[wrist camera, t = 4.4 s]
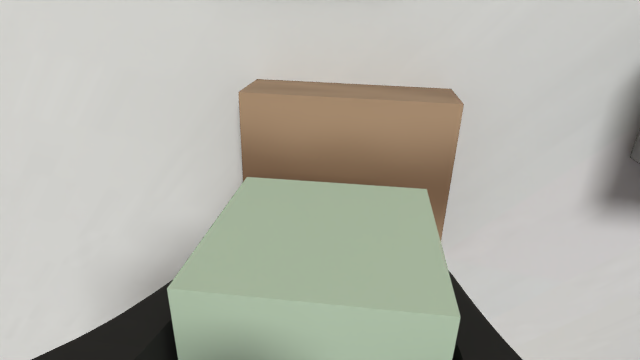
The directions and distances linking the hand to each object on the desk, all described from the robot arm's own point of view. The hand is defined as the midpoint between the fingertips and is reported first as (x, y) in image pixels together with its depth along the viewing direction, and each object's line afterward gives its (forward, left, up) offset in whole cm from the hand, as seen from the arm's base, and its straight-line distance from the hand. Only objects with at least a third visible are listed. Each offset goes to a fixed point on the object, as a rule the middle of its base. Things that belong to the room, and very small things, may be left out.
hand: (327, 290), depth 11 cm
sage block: (0, 0, -1) cm, 1 cm away
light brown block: (0, 0, -9) cm, 9 cm away
